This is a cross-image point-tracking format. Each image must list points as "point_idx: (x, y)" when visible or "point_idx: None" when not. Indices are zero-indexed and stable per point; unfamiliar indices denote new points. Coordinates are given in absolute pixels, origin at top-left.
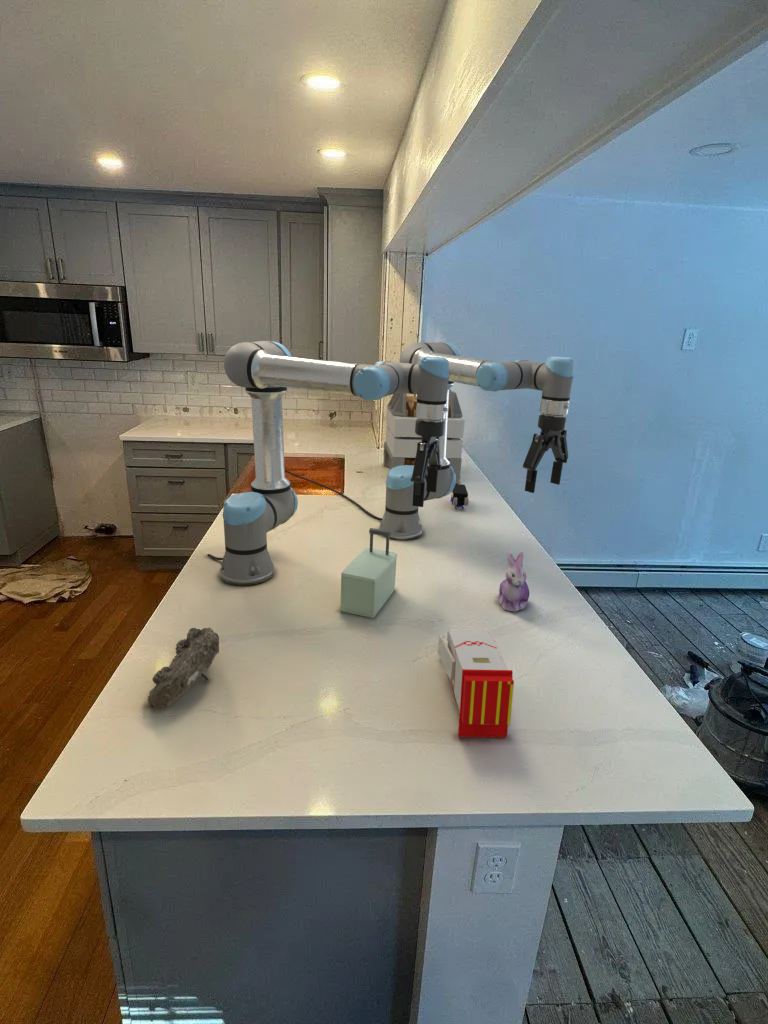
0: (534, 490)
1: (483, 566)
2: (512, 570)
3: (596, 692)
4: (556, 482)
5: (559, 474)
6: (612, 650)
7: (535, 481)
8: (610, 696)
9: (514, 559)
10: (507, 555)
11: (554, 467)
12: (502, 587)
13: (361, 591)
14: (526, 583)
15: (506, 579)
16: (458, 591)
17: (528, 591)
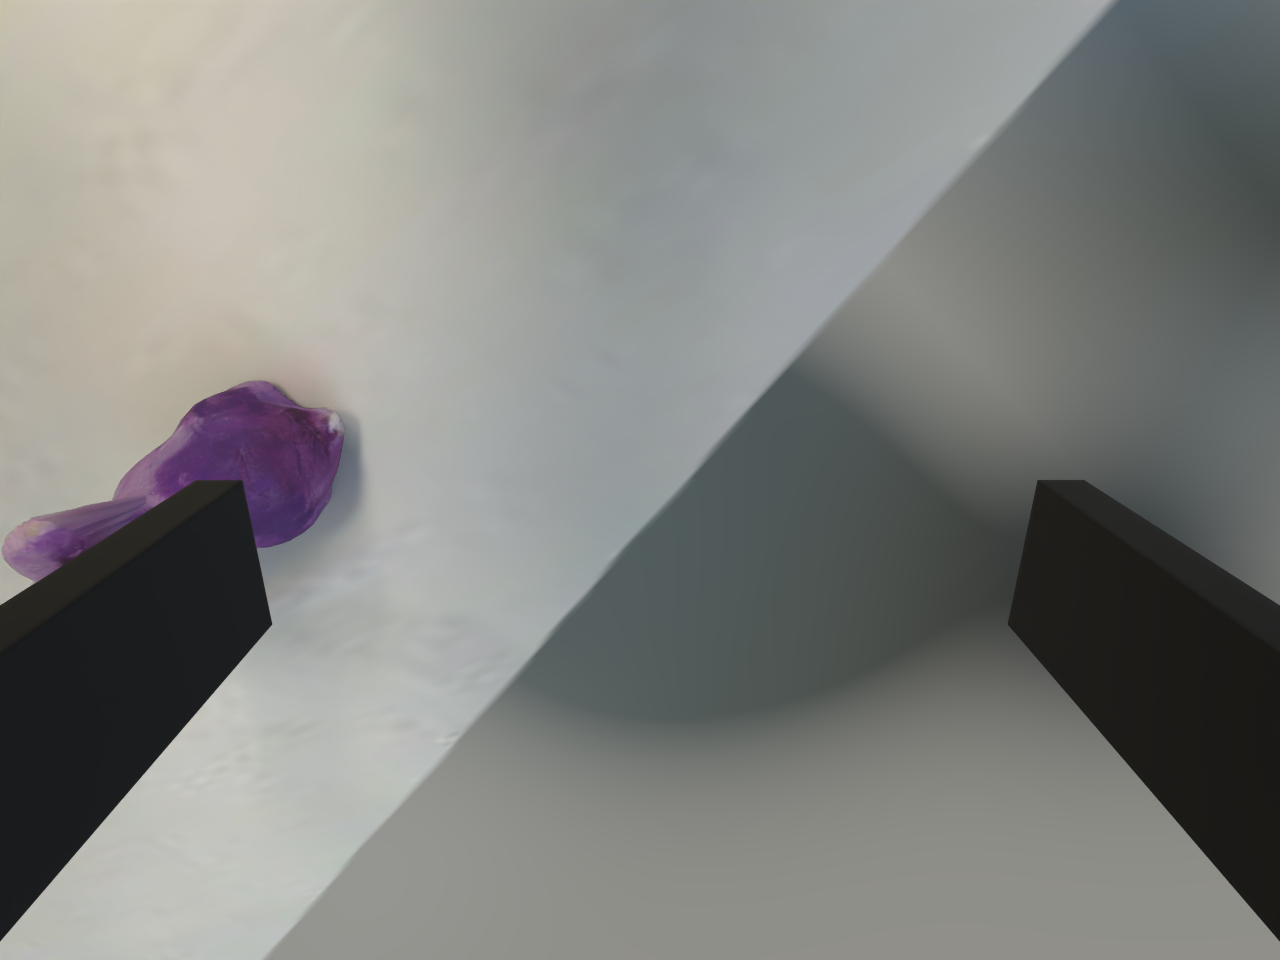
0: (252, 645)
1: (475, 48)
2: (33, 581)
3: (96, 904)
4: (1028, 607)
5: (1120, 741)
6: (338, 849)
7: (143, 758)
8: (120, 930)
9: (61, 565)
10: (15, 528)
11: (1260, 704)
12: (150, 454)
13: None
14: (280, 527)
15: (182, 450)
16: (91, 184)
17: (273, 545)
